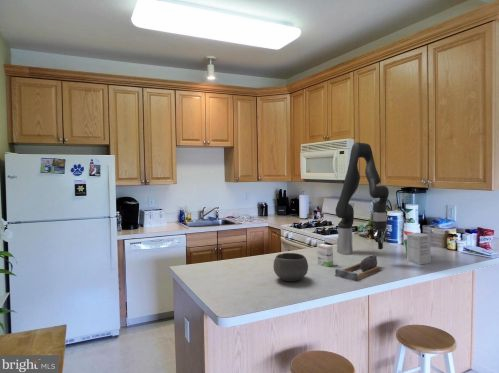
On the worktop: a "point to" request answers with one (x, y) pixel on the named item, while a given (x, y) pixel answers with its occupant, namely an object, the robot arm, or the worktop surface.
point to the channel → (350, 275)
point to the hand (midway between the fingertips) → (380, 248)
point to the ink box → (325, 254)
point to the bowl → (290, 266)
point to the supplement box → (418, 248)
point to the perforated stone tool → (368, 263)
